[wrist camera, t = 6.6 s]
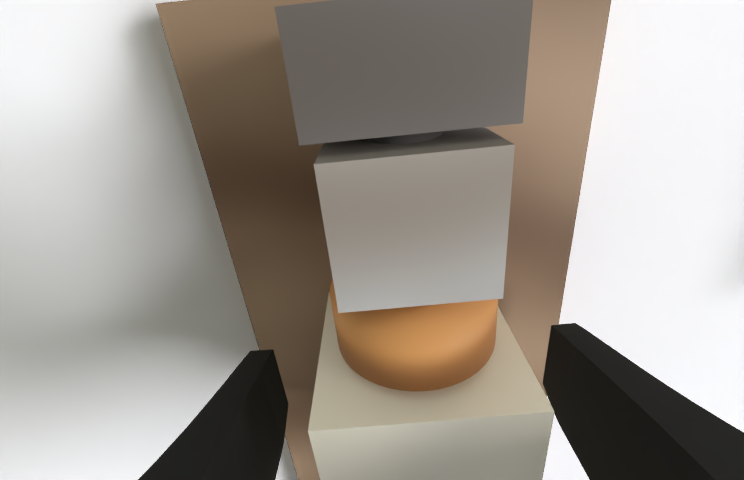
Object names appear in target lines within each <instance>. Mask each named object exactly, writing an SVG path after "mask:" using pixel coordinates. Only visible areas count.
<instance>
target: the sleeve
mask: <svg viewBox="0 0 744 480" xmlns="http://www.w3.org/2000/svg"><path fill="white" fill-rule="evenodd" d="M329 293H330V292H329ZM553 417H554V410H553V408H552V406H551V404H550V402H549V400H548V399H547V397H546V395H545V393H544V391H543V389H542V387H541V386H540V384H539V382H538V380H537V378H536V376H535V374H534V373H533V371H532V369H531V367H530V365H529V363H528V361H527V359H526V358H525V356H524V354H523V352H522V350H521V348H520V346H519V345H518V343H517V341H516V339H515V337H514V335H513V333H512V332H511V330H510V328H509V326H508V324H507V322H506V320H505V319H504V317H503V315H502V313H501V311H500V309H499V307H498V312H497V326H496V340H495V347H494V351H493V353H492V355H491V357H490V359H489V360H488V362H487V363H486V364H485V365H484V366H483V367H482V368H481V369H480V370H479V371H478V372H477V373H476V374H474V375H473V376H471V377H470V378H468V379H466V380H464V381H463V382H461V383H458V384H455V385H453V386H450V387H446V388H442V389H438V390H431V391H415V392H413V391H401V390H395V389H390V388H387V387H383V386H380V385H377V384H375V383H373V382H370V381H368V380H367V379H365V378H363V377H362V376H360V375H359V374H357V373H356V372H355V371H354V370H352V368H351V367H350V366H349V365H348V364H347V363H346V361H345V360H344V358H343V357H342V354H341V352H340V350H339V345H338V339H337V334H336V328H335V322H334V317H333V311H332V305H331V299H330V294H328V301H327V307H326V314H325V321H324V327H323V334H322V341H321V347H320V354H319V361H318V367H317V374H316V381H315V387H314V394H313V401H312V407H311V414H310V421H309V427H308V434H309V438H310V442H311V446H312V449H313V453H314V457H315V461H316V465H317V469H318V473H319V477H320V480H542V478H543V472H544V467H545V461H546V456H547V450H548V445H549V439H550V434H551V428H552V422H553Z"/></svg>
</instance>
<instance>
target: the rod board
mask: <svg viewBox="0 0 744 480" xmlns="http://www.w3.org/2000/svg"><path fill="white" fill-rule="evenodd" d="M610 5H611V0H186V1H177V2H168V3H159V4H156V7H157V10H158V13H159V17H160V20H161V23H162V27H163V30H164V33H165V37H166V40H167V43H168V47H169V50H170V53H171V57H172V60H173V63H174V67H175V70H176V73H177V77H178V80H179V83H180V87H181V90H182V93H183V97H184V100H185V103H186V107H187V110H188V113H189V117H190V120H191V123H192V127H193V130H194V133H195V137H196V140H197V143H198V147H199V150H200V153H201V157H202V160H203V163H204V167H205V170H206V173H207V177H208V180H209V183H210V187H211V190H212V193H213V197H214V200H215V203H216V207H217V210H218V213H219V217H220V220H221V223H222V227H223V230H224V233H225V237H226V240H227V243H228V247H229V250H230V253H231V257H232V260H233V263H234V267H235V270H236V273H237V277H238V280H239V283H240V286H241V290H242V293H243V296H244V300H245V303H246V306H247V310H248V313H249V316H250V320H251V323H252V326H253V330H254V333H255V336H256V340H257V343H258V346H259V350H271V349H273V350H274V354H275V357H276V361H277V365H278V368H279V372H280V375H281V379H282V383H283V386H284V390H285V393H286V397H287V400H288V413H287V421H286V429H285V436H286V440H287V443H288V446H289V450H290V453H291V456H292V460H293V463H294V466H295V470H296V473H297V476H298V480H320V477H319V473H318V469H317V465H316V461H315V457H314V453H313V449H312V446H311V442H310V438H309V434H308V427H309V421H310V414H311V407H312V401H313V394H314V387H315V381H316V374H317V367H318V361H319V354H320V347H321V341H322V334H323V327H324V321H325V314H326V307H327V301H328V294H330V299H331V305H332V311H333V317H334V322H335V328H336V334H337V339H338V345H339V350H340V352H341V354H342V357H343V358H344V360H345V361H346V363H347V364H348V365H349V366H350V367H351V368H352V370H354V371H355V372H356V373H357V374H359V375H360V376H362V377H363V378H365V379H367V380H368V381H370V382H373V383H375V384H377V385H380V386H383V387H387V388H390V389H395V390H401V391H413V392H415V391H431V390H438V389H442V388H446V387H450V386H453V385H455V384H458V383H461V382H463V381H464V380H466V379H468V378H470V377H471V376H473V375H474V374H476V373H477V372H478V371H479V370H480V369H481V368H482V367H483V366H484V365H485V364H486V363H487V362H488V360H489V359H490V357H491V355H492V353H493V351H494V347H495V340H496V326H497V312H498V307H499V309H500V311H501V313H502V315H503V317H504V319H505V320H506V322H507V324H508V326H509V328H510V330H511V332H512V333H513V335H514V337H515V339H516V341H517V343H518V345H519V346H520V348H521V350H522V352H523V354H524V356H525V358H526V359H527V361H528V363H529V365H530V367H531V369H532V371H533V373H534V374H535V376H536V378H537V380H538V382H539V384H540V386H541V387H542V389H543V391H544V393H545V395H546V397H547V393H546V391H545V388H544V386H543V376H544V370H545V363H546V357H547V350H548V343H549V337H550V330H551V325H558V324H559V318H560V312H561V306H562V299H563V293H564V287H565V281H566V275H567V269H568V263H569V256H570V250H571V244H572V238H573V232H574V226H575V220H576V213H577V207H578V201H579V195H580V189H581V183H582V177H583V170H584V164H585V158H586V152H587V146H588V140H589V134H590V127H591V121H592V115H593V109H594V103H595V97H596V91H597V84H598V78H599V72H600V66H601V60H602V54H603V48H604V41H605V35H606V29H607V23H608V17H609V11H610ZM329 292H330V293H329Z"/></svg>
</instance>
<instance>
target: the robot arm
mask: <svg viewBox="0 0 744 480" xmlns="http://www.w3.org/2000/svg"><path fill="white" fill-rule="evenodd" d="M543 386H544V388H545V391H546V393H547V396H548V399H549V401H550V404H551V406H552V408H553V410H554V413H555V415H556V418H557V420H558V422H559V424H560V426H561V428H562V430H563V432H564V434H565V435H566V437H567V439H568V441H569V443H570V445H571V446H572V448H573V450H574V452H575V454H576V456H577V457H578V459H579V461H580V463H581V465H582V466H583V468H584V470H585V472H586V474H587V475H588V477H589V479H590V480H744V433H743V432H742V431H740V430H738V429H736V428H735V427H733V426H731V425H730V424H728V423H726V422H725V421H723V420H721V419H720V418H718V417H716V416H715V415H713V414H712V413H710V412H708V411H707V410H705V409H703V408H702V407H700V406H699V405H697V404H695V403H694V402H692V401H690V400H689V399H687V398H686V397H684V396H683V395H681V394H680V393H678V392H676V391H675V390H673V389H672V388H670V387H669V386H667V385H666V384H664V383H663V382H661V381H660V380H658V379H657V378H655V377H654V376H652V375H651V374H649V373H648V372H646V371H645V370H643V369H642V368H640V367H639V366H637V365H636V364H634V363H633V362H631V361H630V360H629V359H627V358H626V357H624V356H623V355H621V354H620V353H618V352H617V351H616V350H614V349H613V348H611V347H610V346H608V345H607V344H605V343H604V342H603V341H601V340H600V339H598V338H597V337H595V336H594V335H592V334H591V333H590V332H588V331H587V330H585V329H584V328H582V327H580V326H579V325H577V324H576V323H572V324H560V325H551V330H550V337H549V343H548V350H547V357H546V363H545V370H544V376H543ZM287 413H288V400H287V397H286V393H285V390H284V386H283V383H282V379H281V375H280V372H279V368H278V365H277V361H276V357H275V354H274V350H273V349H271V350H259V351H250V352H249V353H248V355H247V356H246V357H245V358H244V359H243V360H242V362H241V363H240V364H239V365H238V367H237V368H236V369H235V370H234V371H233V373H232V374H231V375H230V376H229V378H228V379H227V380H226V381H225V383H224V384H223V385H222V386H221V387H220V389H219V390H218V391H217V392H216V394H215V395H214V396H213V397H212V398H211V400H210V401H209V402H208V403H207V404H206V406H205V407H204V408H203V409H202V410H201V411H200V413H199V414H198V415H197V416H196V417H195V419H194V420H193V421H192V422H191V423H190V424H189V426H188V427H187V428H186V429H185V430H184V431H183V432H182V433H181V434H180V436H179V437H178V438H177V439H176V440H175V441H174V442H173V443H172V444H171V445H170V447H169V448H168V449H167V450H166V451H165V452H164V453H163V454H162V455H161V456H160V457H159V459H158V460H157V461H156V462H155V463H154V464H153V465H152V466H151V467H150V468H149V469H148V470H147V471H146V472H145V473H144V474H143V475H142V476H141V477H140V478H139V479H138V480H275V478H276V474H277V470H278V465H279V461H280V457H281V453H282V448H283V444H284V437H285V429H286V421H287Z"/></svg>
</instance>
